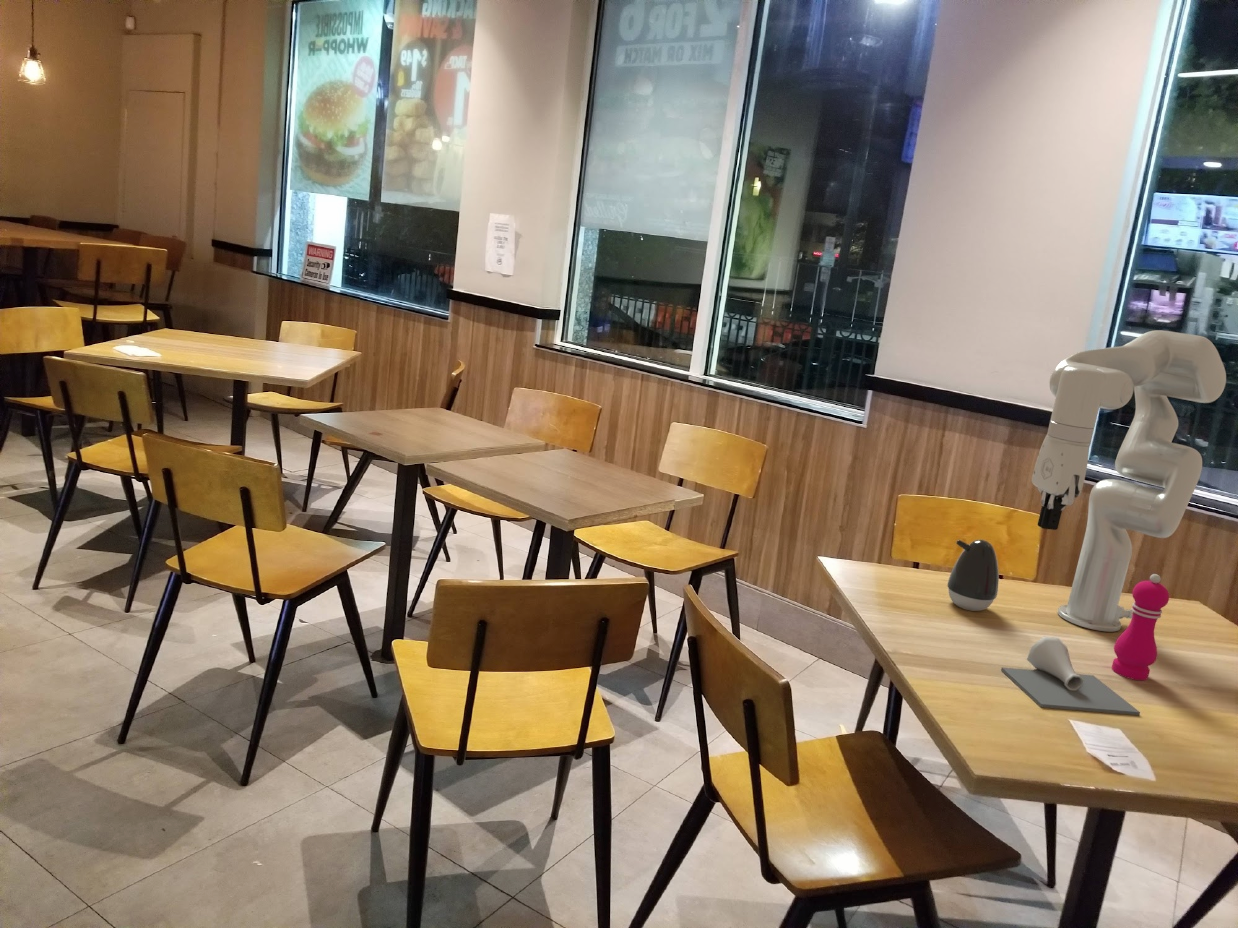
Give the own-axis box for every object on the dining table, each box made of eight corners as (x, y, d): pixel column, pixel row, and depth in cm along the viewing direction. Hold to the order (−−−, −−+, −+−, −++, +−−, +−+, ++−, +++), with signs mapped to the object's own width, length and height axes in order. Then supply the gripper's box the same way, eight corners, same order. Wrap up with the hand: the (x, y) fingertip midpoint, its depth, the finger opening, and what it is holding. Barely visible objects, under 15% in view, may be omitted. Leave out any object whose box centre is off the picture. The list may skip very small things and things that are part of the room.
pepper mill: (1146, 670, 184) (1173, 573, 179) (1153, 685, 177) (1182, 584, 173) (1106, 661, 186) (1131, 564, 181) (1111, 675, 179) (1138, 575, 175)
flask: (1049, 674, 179) (1078, 706, 169) (1019, 660, 177) (1046, 692, 168) (1072, 643, 176) (1103, 674, 167) (1042, 629, 175) (1071, 660, 165)
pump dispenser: (938, 594, 213) (953, 529, 209) (986, 602, 212) (1001, 537, 208) (947, 610, 203) (962, 542, 200) (997, 619, 202) (1013, 551, 198)
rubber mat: (1092, 678, 176) (1093, 675, 176) (1139, 715, 163) (1140, 712, 163) (1001, 670, 174) (1001, 667, 174) (1040, 707, 161) (1041, 703, 161)
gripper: (1030, 423, 183) (1009, 514, 187) (1073, 440, 169) (1049, 538, 173) (1066, 427, 184) (1045, 518, 188) (1112, 444, 170) (1087, 542, 174)
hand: (1047, 527), depth 181 cm, fingers closed
